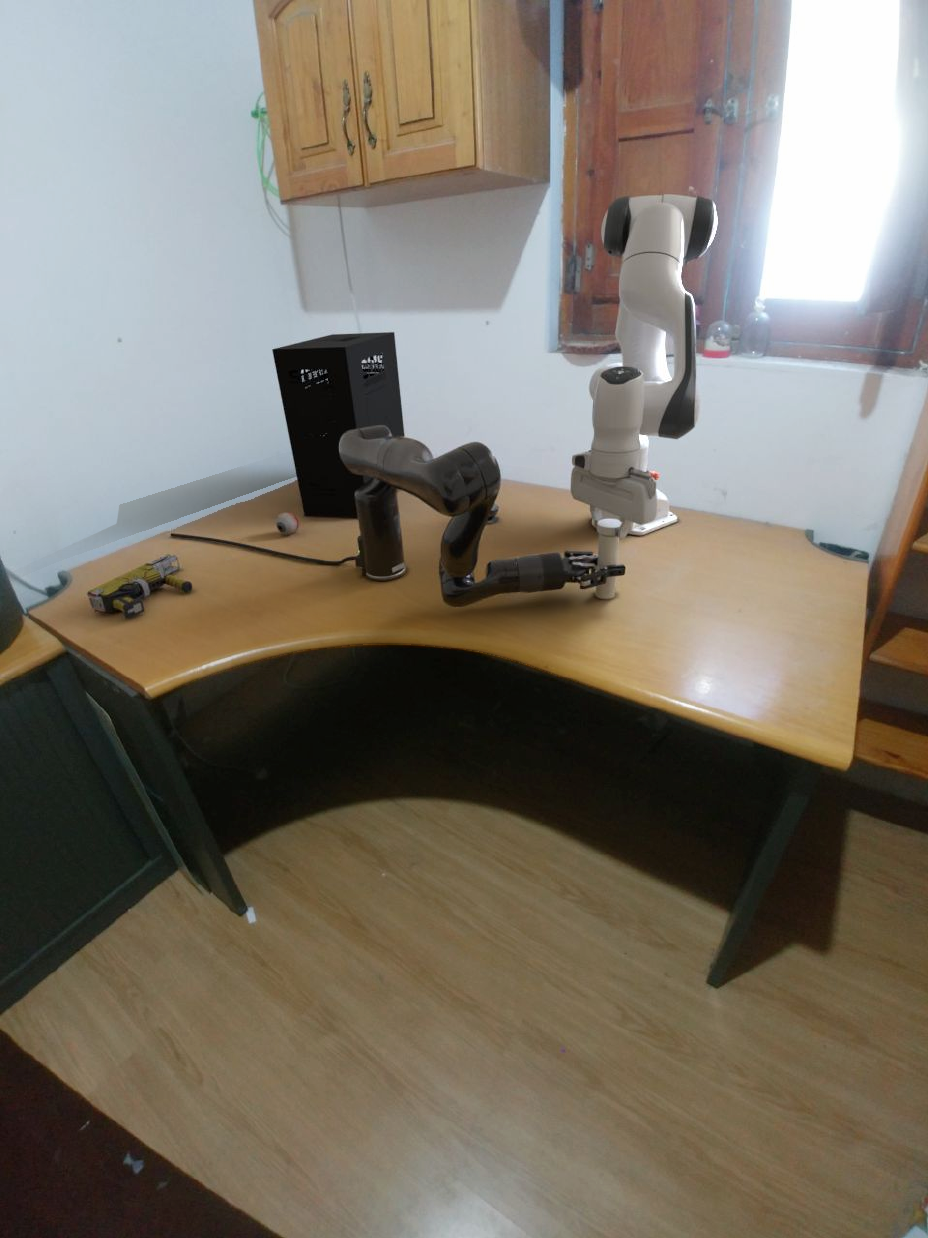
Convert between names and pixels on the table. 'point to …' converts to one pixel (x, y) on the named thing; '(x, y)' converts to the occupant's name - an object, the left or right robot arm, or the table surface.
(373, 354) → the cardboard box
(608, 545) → the bottle
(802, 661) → the table surface
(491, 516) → the grey chess piece
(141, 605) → the toy gun
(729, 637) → the table surface
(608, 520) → the lid
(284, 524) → the eyeball
